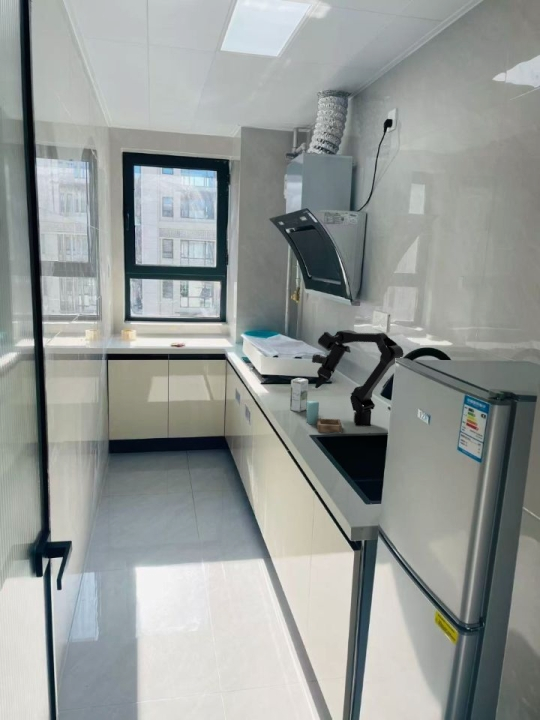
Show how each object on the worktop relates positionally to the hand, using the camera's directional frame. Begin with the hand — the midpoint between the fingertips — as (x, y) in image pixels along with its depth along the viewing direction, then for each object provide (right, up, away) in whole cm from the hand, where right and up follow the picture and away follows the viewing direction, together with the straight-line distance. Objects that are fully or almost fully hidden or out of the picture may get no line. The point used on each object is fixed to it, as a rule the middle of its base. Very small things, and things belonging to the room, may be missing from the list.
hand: (317, 386), depth 246 cm
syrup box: (-8, -12, +11) cm, 18 cm away
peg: (-3, -15, -9) cm, 18 cm away
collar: (+3, -17, -18) cm, 25 cm away
